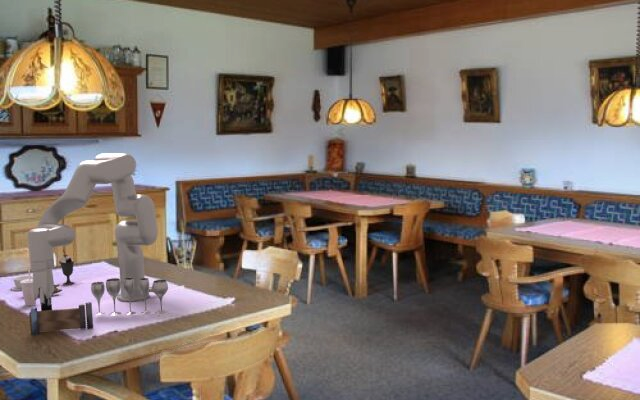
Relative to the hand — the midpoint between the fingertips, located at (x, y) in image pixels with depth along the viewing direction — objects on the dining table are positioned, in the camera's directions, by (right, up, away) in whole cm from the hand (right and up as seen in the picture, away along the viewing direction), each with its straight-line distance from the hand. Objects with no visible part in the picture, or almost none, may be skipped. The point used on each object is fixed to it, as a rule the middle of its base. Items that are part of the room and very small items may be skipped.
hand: (47, 316), depth 221 cm
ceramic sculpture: (-21, 0, +45) cm, 49 cm away
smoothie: (-20, -1, +30) cm, 36 cm away
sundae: (-17, +3, +61) cm, 64 cm away
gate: (+5, -4, -1) cm, 6 cm away
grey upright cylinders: (+6, -5, -2) cm, 8 cm away
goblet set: (+24, -2, +17) cm, 30 cm away
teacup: (-34, +2, +56) cm, 65 cm away
